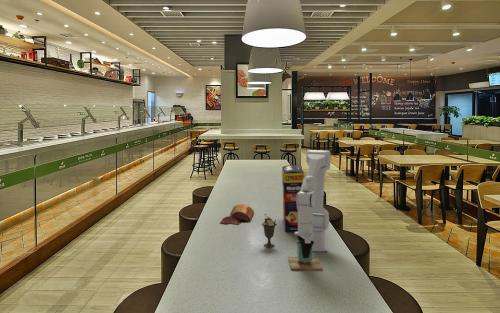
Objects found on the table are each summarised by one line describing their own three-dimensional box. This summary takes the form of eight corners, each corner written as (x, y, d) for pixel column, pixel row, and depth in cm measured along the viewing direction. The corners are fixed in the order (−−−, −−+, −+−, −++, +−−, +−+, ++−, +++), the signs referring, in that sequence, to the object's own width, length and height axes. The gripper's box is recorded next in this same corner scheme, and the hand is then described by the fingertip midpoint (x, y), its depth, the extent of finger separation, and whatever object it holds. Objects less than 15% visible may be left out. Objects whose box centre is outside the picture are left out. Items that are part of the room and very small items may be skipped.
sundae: (258, 245, 170) (258, 213, 168) (268, 242, 175) (268, 211, 173) (269, 249, 165) (269, 216, 164) (279, 245, 170) (279, 213, 169)
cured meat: (218, 225, 204) (219, 213, 203) (224, 213, 229) (225, 202, 228) (251, 226, 203) (252, 214, 202) (254, 214, 228) (254, 203, 227)
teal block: (297, 256, 151) (296, 242, 150) (309, 256, 151) (309, 241, 150) (298, 261, 145) (298, 246, 145) (312, 261, 145) (312, 246, 145)
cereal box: (282, 218, 217) (281, 164, 213) (302, 218, 216) (301, 163, 213) (284, 233, 190) (283, 171, 187) (306, 232, 190) (305, 170, 186)
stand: (288, 258, 154) (288, 247, 154) (316, 258, 154) (317, 247, 154) (291, 270, 142) (291, 258, 142) (322, 270, 142) (322, 258, 142)
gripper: (292, 216, 154) (292, 248, 155) (297, 227, 139) (297, 262, 141) (309, 216, 154) (309, 248, 155) (316, 226, 139) (315, 261, 141)
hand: (304, 255), depth 148 cm, fingers closed on teal block, 5 cm apart
